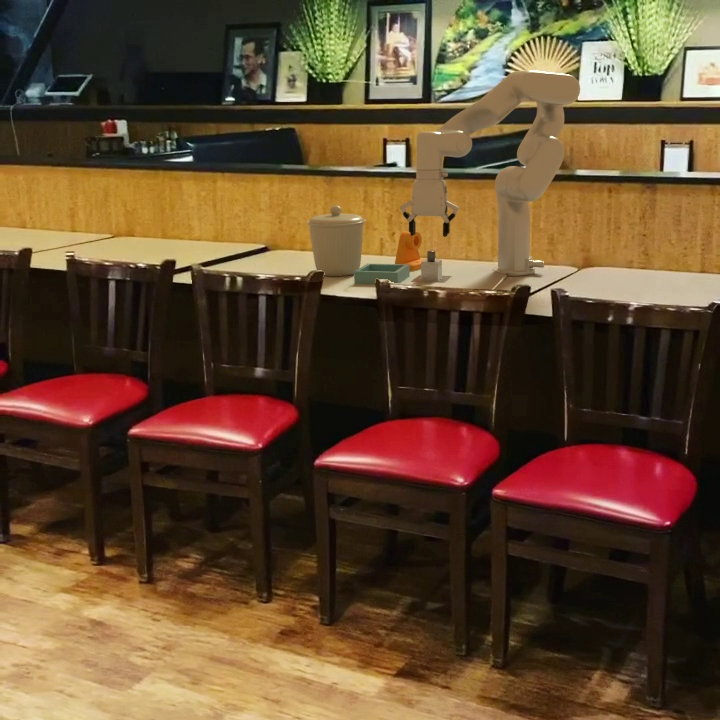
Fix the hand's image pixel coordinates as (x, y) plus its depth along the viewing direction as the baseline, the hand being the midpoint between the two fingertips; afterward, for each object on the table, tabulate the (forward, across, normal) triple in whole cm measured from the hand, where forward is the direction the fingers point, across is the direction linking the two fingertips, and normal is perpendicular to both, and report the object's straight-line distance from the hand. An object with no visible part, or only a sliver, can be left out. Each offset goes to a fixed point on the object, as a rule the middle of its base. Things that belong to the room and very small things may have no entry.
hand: (429, 235), depth 303 cm
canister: (+14, +31, -10) cm, 36 cm away
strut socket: (+13, -1, -1) cm, 13 cm away
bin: (+14, +13, +3) cm, 19 cm away
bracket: (+14, +9, -19) cm, 25 cm away
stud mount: (+14, -1, -1) cm, 14 cm away
